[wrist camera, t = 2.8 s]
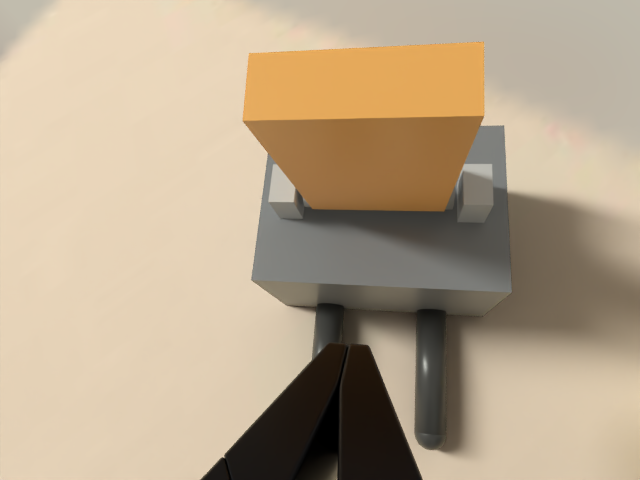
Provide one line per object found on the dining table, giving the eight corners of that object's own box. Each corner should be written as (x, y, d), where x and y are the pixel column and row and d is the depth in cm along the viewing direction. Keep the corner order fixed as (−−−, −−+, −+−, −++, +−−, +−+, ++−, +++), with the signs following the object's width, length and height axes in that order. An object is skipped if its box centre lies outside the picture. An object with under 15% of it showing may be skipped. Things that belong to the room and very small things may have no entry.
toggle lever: (450, 215, 17) (500, 115, 9) (308, 213, 18) (229, 120, 10) (450, 175, 17) (499, 41, 9) (311, 175, 18) (236, 54, 10)
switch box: (485, 454, 20) (537, 493, 13) (272, 430, 22) (209, 453, 15) (479, 186, 24) (514, 99, 17) (298, 185, 26) (259, 106, 18)
